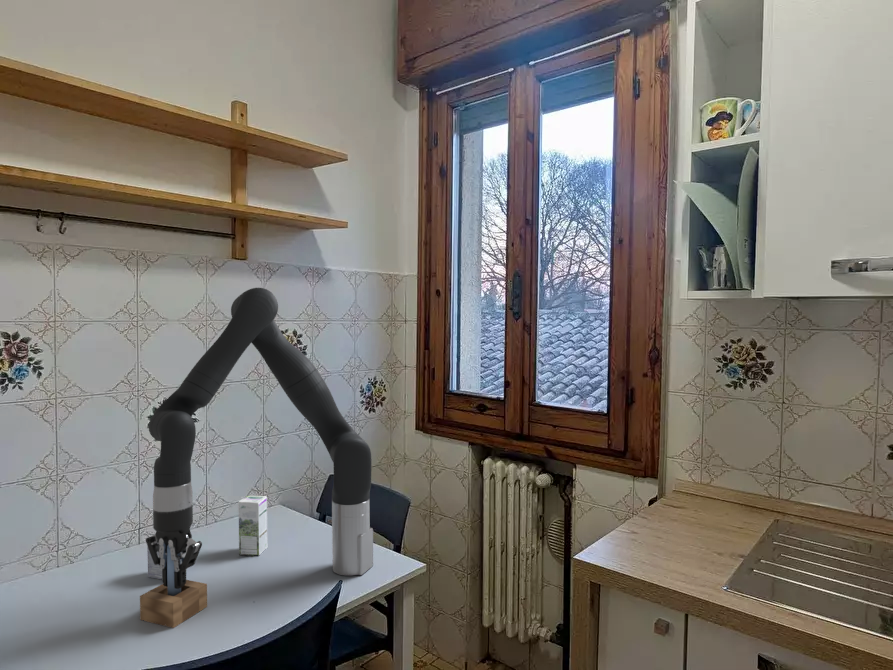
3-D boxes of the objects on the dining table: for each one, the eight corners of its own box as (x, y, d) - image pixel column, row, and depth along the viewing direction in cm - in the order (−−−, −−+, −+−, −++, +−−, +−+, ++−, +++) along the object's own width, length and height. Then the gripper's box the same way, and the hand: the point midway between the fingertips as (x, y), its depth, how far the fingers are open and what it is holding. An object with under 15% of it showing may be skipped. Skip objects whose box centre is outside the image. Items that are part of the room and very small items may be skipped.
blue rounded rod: (184, 596, 119) (183, 538, 118) (174, 601, 116) (173, 543, 116) (174, 594, 120) (173, 537, 119) (164, 599, 117) (163, 541, 117)
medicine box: (187, 574, 137) (186, 539, 136) (172, 582, 132) (172, 546, 132) (162, 570, 139) (161, 535, 139) (147, 577, 135) (146, 542, 135)
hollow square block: (207, 606, 121) (206, 583, 120) (173, 627, 112) (173, 603, 112) (175, 599, 124) (175, 577, 124) (140, 619, 115) (139, 595, 115)
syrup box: (268, 547, 153) (267, 494, 152) (259, 556, 147) (258, 501, 147) (248, 547, 153) (247, 494, 153) (238, 555, 147) (237, 501, 147)
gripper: (212, 502, 119) (213, 583, 119) (162, 496, 124) (163, 573, 124) (184, 513, 112) (185, 599, 112) (133, 506, 116) (134, 588, 117)
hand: (174, 585), depth 118 cm, fingers closed on blue rounded rod, 2 cm apart
